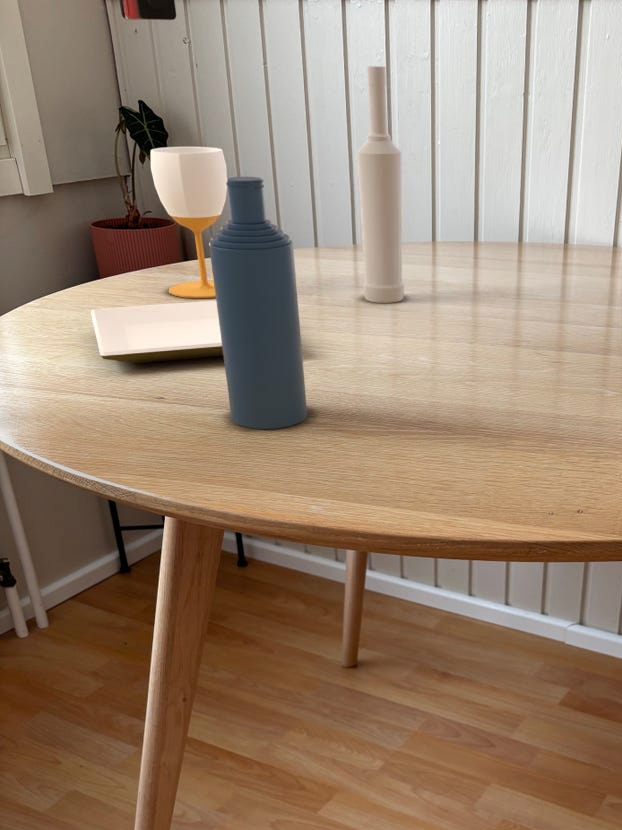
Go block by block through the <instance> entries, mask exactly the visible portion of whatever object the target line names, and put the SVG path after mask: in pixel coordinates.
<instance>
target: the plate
mask: <svg viewBox="0 0 622 830" xmlns="http://www.w3.org/2000/svg"><path fill="white" fill-rule="evenodd" d="M90 315H91V320H92V325H93V328H94V333H95V334H94V335H95V339H96V343H97V347H98V351H99V352H98V353H99V356H100V357H101V358H102V359H103V360H108V361H116V362H122V363H123V362H124V363H130V364H142V363H143V364H144V363H156V362H168V361H178V360H189V359H190V360H191V359H202V358H213V357H223V349H222V341H221V333H220V326H219V318H218V310H217V302H216V300H206V301H204V300H203V301H202V300H201V301H190V302H189V301H188V302H174V303H160V304H159V303H157V304H145V305H144V304H143V305H130V306H116V307H101V308H94V309H92V310H90Z"/></svg>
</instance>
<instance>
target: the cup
mask: <svg viewBox="0 0 622 830" xmlns="http://www.w3.org/2000/svg"><path fill="white" fill-rule="evenodd" d="M150 171H151V176H152V179H153V184H154V189H155V190H156V193H157V195H158V198H159V201H160V203H161V204H162V206H163V207H164V210H165V211H166V213H167V215H169V216H170V217H171V218H172V219H173V220H174V221H175V222H176V223H178V225H180V226H182V227H184V228H186V229H189V230H190V231H191V232H193V234H194V240H195V248H196V255H197V262H198V270H199V276H200V280H196V281H186V282H182V283H177V284H174V285H173V286H170V287H168V288H169V289H168V293H169V294H170V295H173V296H174V297H179V298H184V299H216V295H215V287H214V280H208V273H207V267H206V259H205V252H204V244H203V237H202V236H203V235H202V233H203V231H204V230H205V229H207V228H208V227H210V226H212V225H214V224H215V222H216V221H217V220H218V218H219V217H220V216H221V215H222V213H223V210H224V206H225V203H226V199H227V192H228V186H227V185H226V183H227V179H228V172H227V171H228V170H227V163H226V159H225V155H224V150H223V149H222V148H218V147H209V146H166V147H165V146H164V147H157V148H152V149H150Z"/></svg>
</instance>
